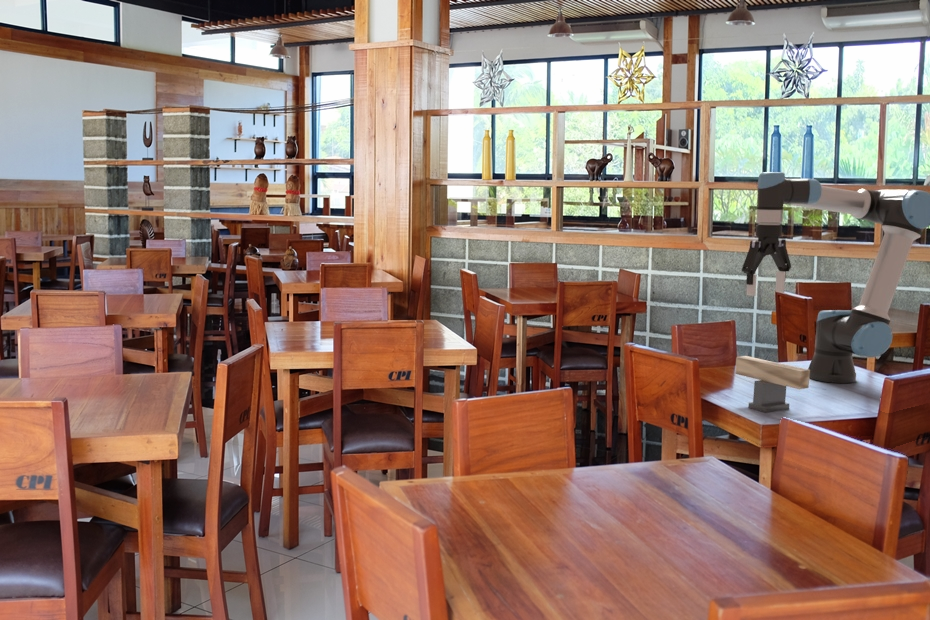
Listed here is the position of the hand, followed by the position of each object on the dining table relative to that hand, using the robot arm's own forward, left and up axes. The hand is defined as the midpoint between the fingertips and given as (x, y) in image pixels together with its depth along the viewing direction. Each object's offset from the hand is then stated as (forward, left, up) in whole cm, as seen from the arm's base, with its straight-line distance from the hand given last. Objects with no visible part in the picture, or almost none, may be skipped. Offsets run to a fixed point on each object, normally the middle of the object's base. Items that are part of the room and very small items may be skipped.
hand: (765, 294), depth 276 cm
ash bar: (+16, +17, -22) cm, 32 cm away
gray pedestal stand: (+16, +17, -30) cm, 38 cm away
